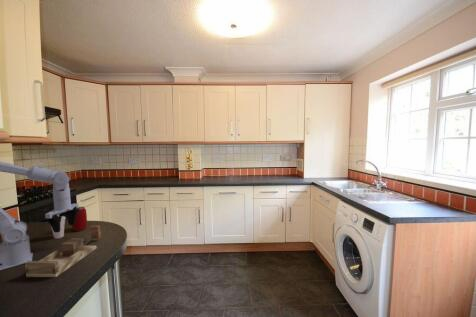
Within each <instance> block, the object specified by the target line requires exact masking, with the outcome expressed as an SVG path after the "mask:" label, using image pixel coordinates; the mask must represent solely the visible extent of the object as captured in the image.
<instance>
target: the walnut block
mask: <svg viewBox="0 0 476 317" xmlns="http://www.w3.org/2000/svg"><path fill="white" fill-rule="evenodd" d="M89 229H90V239H88V240H87V241H85V242H84V238H83V237H81V238H80V237H75V238H70V239H68V240H66V241H64V242H63V243H61V252H62V256H72V255H73V254H75V253H76V252H78V251H82V250H84V246H86V244H88V243H90V242H91V241H92V240H94V239H96V240H97V239H100V238H101V237H102V235H101V233H102V232H101V225H99V224H98V225H94V224H93V225H90V228H89Z"/></svg>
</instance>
